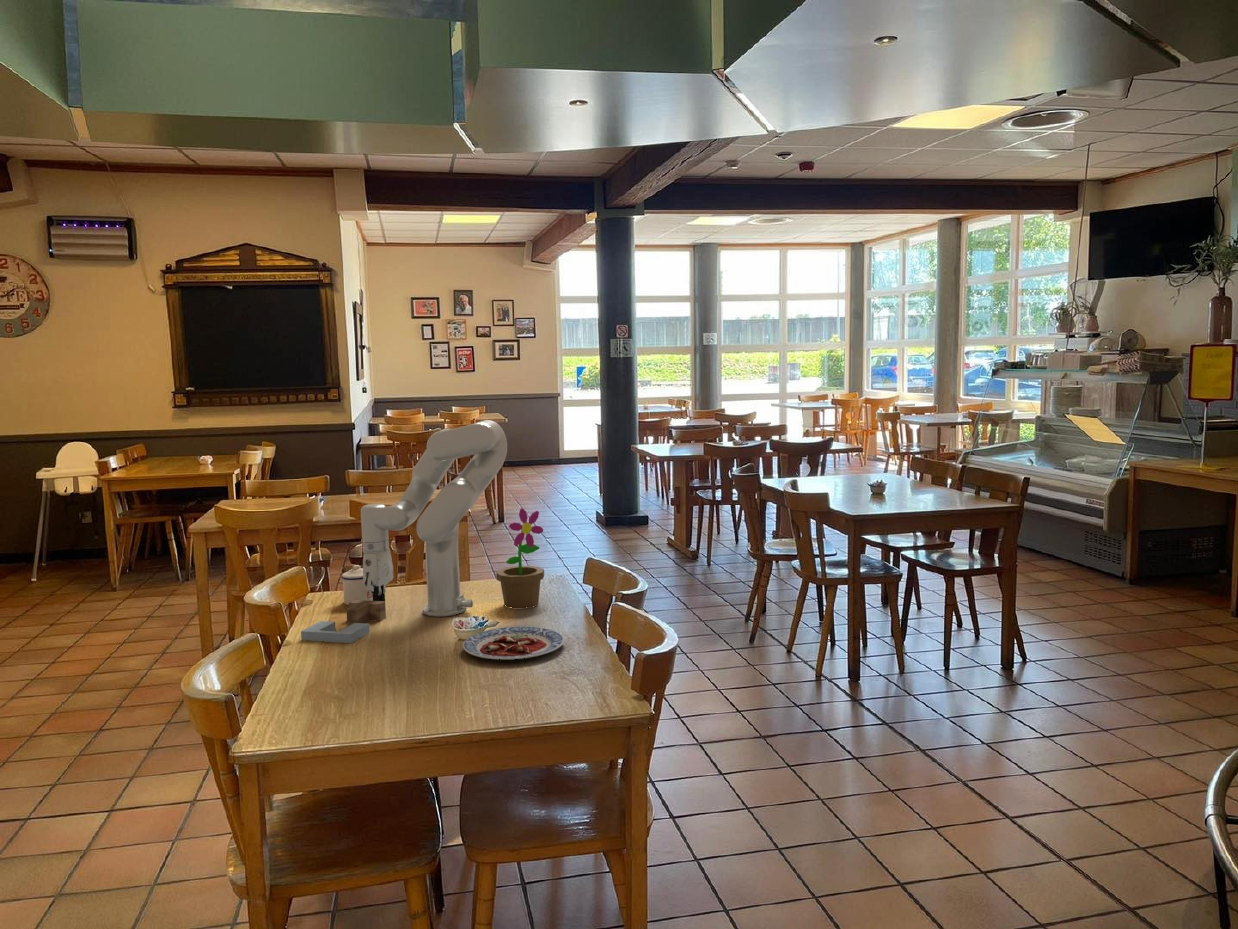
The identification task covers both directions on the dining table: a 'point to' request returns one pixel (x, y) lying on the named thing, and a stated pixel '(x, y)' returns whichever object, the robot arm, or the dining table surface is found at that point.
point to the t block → (365, 611)
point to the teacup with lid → (355, 586)
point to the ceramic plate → (513, 643)
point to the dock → (334, 632)
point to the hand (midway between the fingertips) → (379, 606)
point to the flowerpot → (522, 568)
